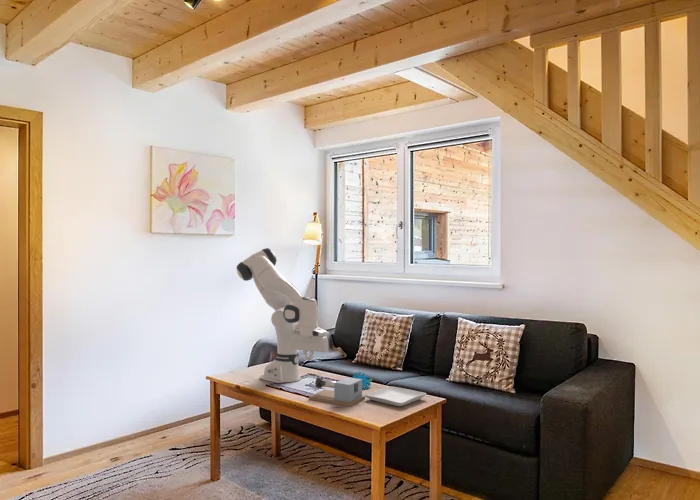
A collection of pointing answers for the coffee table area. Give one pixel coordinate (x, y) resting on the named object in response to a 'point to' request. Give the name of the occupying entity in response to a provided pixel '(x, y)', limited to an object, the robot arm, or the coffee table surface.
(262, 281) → the robot arm
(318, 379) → the shaft
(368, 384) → the gear
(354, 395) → the bearing block
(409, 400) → the salad plate
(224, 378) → the coffee table surface
